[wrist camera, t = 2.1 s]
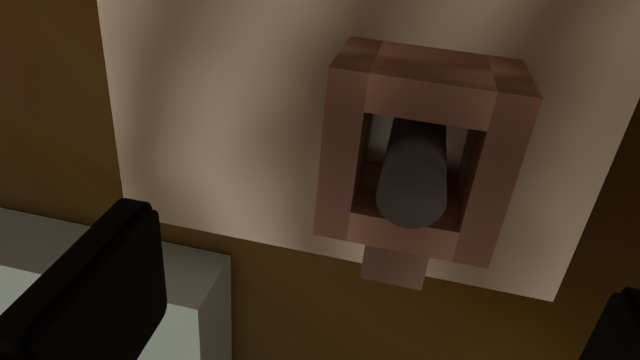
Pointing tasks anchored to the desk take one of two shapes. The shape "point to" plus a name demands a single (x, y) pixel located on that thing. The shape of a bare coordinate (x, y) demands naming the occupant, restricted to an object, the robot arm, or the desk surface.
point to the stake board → (386, 132)
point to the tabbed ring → (433, 107)
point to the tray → (180, 276)
